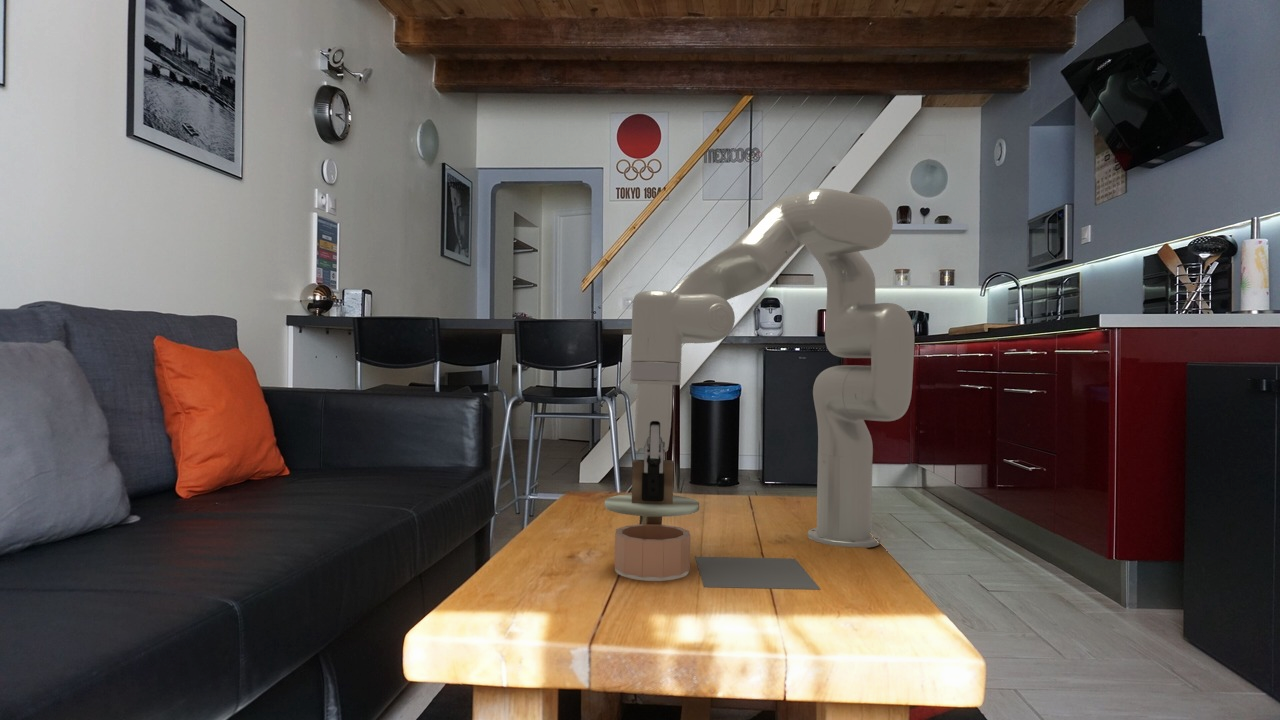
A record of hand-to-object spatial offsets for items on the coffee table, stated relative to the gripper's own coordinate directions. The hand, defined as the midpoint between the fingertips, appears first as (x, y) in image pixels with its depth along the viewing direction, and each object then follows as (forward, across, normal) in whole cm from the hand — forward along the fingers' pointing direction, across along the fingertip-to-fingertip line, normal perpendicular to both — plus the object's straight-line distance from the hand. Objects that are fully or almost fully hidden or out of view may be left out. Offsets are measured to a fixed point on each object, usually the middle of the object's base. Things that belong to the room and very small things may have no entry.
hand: (652, 497), depth 105 cm
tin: (+11, -14, 0) cm, 18 cm away
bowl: (+11, 0, 0) cm, 11 cm away
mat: (+11, 0, +15) cm, 19 cm away
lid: (+1, 0, 0) cm, 1 cm away
